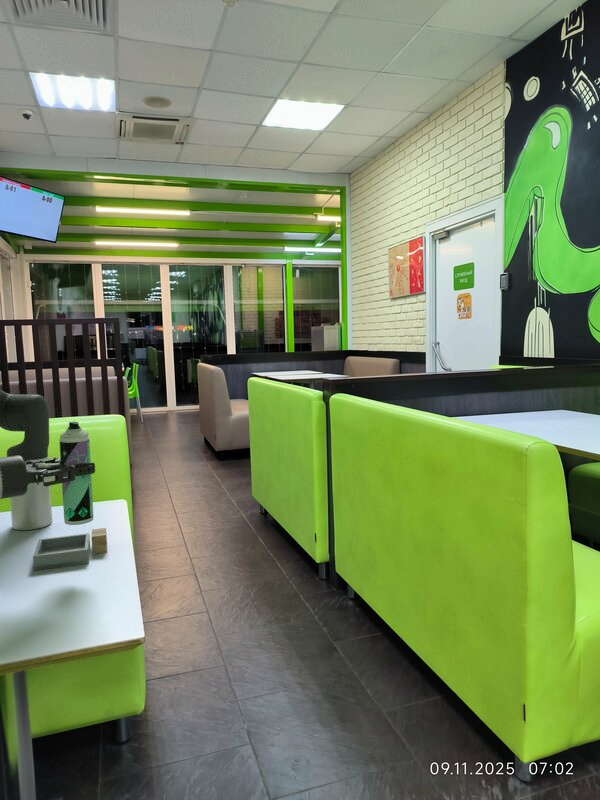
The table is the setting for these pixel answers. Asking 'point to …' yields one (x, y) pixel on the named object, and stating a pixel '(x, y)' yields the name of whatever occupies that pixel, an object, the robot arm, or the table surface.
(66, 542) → the tray
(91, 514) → the spray can
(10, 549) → the table surface
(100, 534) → the chock block
